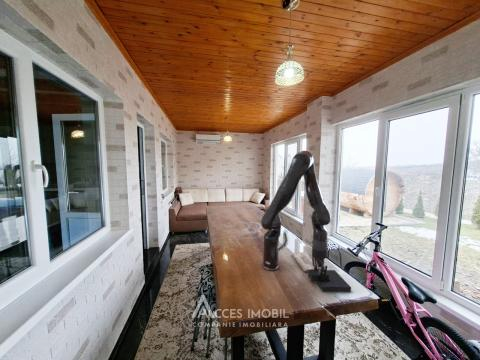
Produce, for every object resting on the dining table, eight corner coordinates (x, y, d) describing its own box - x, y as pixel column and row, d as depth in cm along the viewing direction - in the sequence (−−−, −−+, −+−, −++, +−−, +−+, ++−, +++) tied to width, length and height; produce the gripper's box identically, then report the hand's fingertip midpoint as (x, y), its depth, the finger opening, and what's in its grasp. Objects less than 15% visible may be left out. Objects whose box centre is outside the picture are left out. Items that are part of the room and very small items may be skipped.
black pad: (308, 276, 105) (308, 270, 105) (324, 276, 106) (324, 270, 105) (311, 281, 100) (312, 275, 100) (328, 281, 100) (329, 275, 100)
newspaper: (324, 271, 114) (324, 267, 114) (304, 274, 113) (304, 270, 113) (308, 254, 137) (308, 250, 136) (291, 256, 136) (291, 252, 136)
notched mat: (310, 274, 111) (310, 269, 111) (334, 274, 111) (334, 270, 111) (323, 291, 95) (323, 286, 95) (350, 291, 95) (351, 287, 95)
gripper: (307, 242, 109) (306, 271, 110) (318, 253, 95) (316, 286, 96) (320, 242, 109) (319, 271, 110) (333, 253, 95) (331, 286, 96)
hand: (318, 278), depth 103 cm, fingers closed on black pad, 5 cm apart
